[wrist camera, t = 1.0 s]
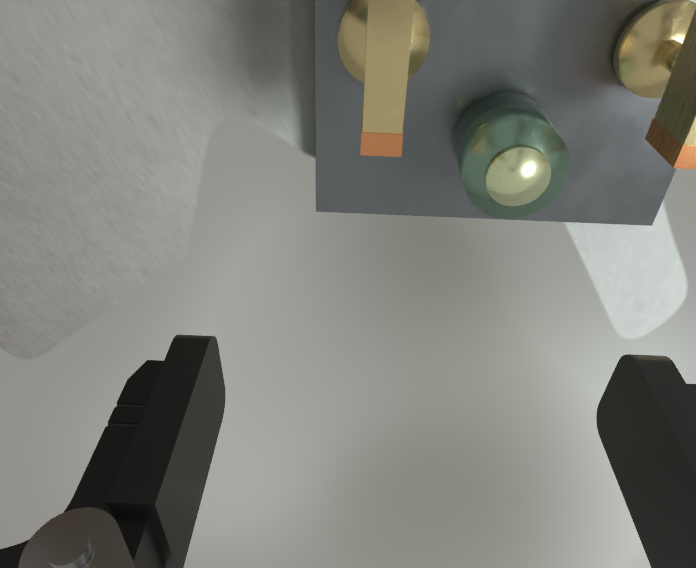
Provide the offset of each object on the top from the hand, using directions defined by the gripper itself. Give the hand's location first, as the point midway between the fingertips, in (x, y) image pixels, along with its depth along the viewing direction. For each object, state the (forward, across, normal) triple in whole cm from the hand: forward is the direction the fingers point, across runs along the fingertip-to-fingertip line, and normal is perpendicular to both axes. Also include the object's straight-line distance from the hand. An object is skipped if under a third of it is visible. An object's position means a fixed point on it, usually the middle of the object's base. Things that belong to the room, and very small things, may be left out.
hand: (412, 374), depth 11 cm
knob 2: (+26, -16, 0) cm, 31 cm away
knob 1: (+26, 0, 0) cm, 26 cm away
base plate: (+28, -8, +2) cm, 29 cm away
